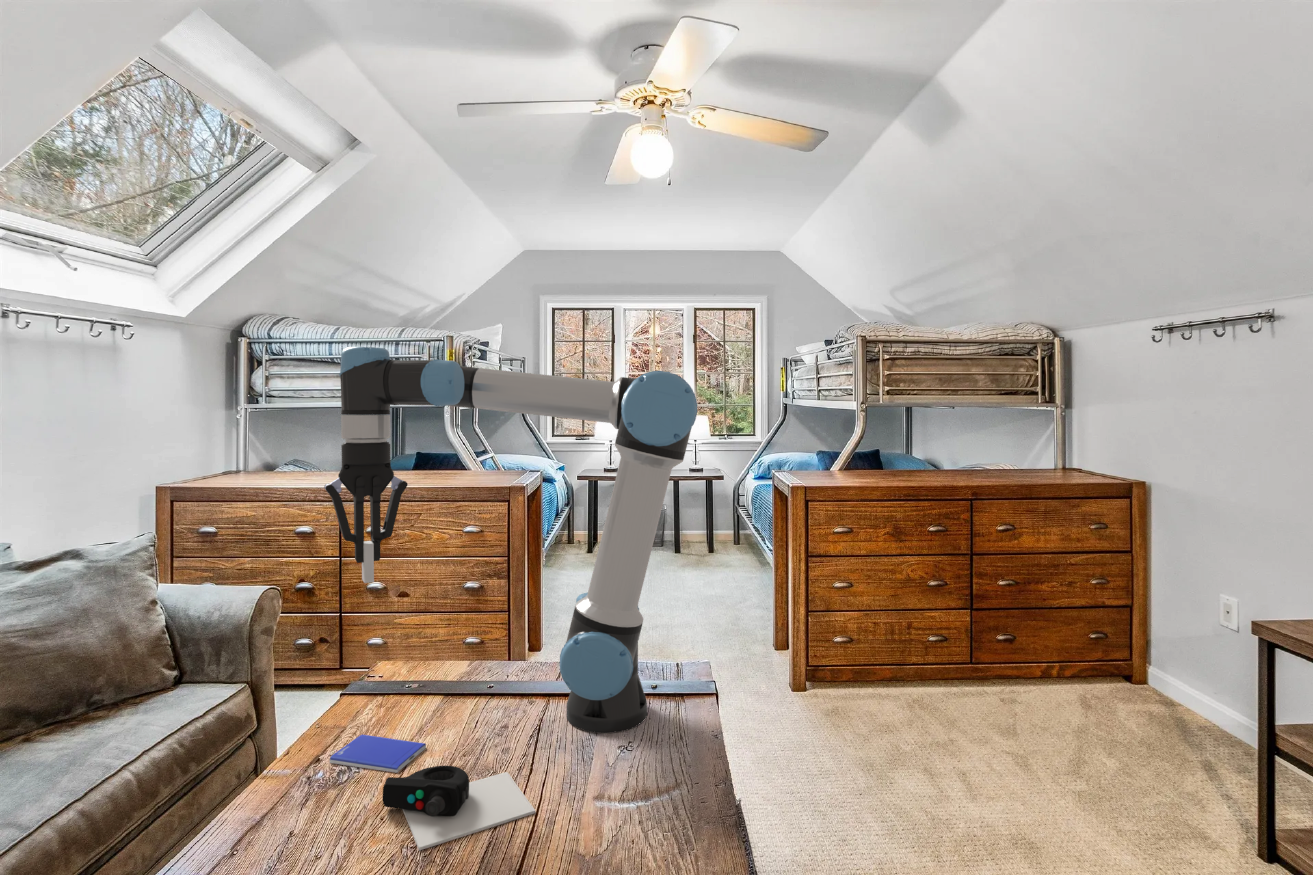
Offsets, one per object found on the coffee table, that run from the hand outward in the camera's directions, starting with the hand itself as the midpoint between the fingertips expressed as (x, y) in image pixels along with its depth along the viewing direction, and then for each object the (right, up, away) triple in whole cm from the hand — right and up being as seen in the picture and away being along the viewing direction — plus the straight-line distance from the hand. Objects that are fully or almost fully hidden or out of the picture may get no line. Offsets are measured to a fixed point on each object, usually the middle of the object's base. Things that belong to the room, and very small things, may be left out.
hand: (368, 580), depth 114 cm
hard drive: (+3, -29, -2) cm, 29 cm away
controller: (+17, -27, -11) cm, 34 cm away
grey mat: (+21, -29, -17) cm, 40 cm away
